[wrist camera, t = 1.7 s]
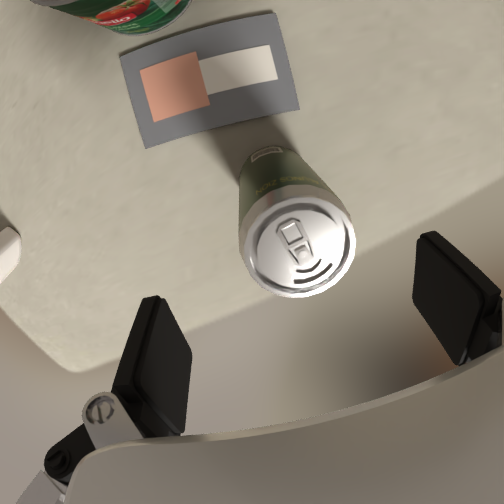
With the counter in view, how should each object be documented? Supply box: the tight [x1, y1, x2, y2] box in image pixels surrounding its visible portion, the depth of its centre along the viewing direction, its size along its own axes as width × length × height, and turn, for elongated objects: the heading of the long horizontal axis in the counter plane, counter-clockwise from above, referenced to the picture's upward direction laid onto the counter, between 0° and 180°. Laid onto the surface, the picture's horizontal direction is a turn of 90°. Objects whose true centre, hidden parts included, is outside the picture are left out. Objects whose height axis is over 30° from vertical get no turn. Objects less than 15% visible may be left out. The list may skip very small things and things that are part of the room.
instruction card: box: [120, 13, 300, 149], centre depth 19 cm, size 12×8×1 cm, turn 103°
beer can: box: [239, 146, 356, 298], centre depth 18 cm, size 5×5×12 cm
